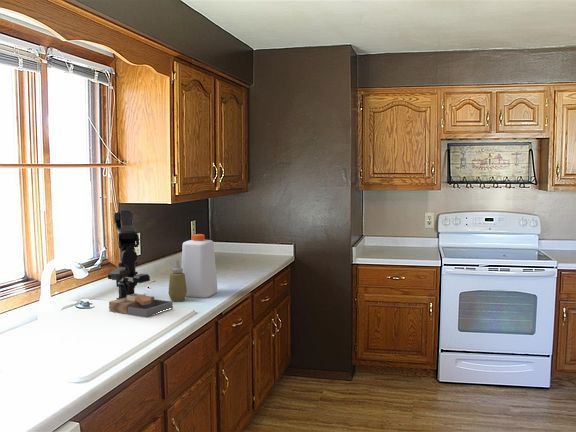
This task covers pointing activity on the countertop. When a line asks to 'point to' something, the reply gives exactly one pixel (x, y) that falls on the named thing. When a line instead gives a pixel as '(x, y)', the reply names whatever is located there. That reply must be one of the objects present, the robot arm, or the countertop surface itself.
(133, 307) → the charcoal bin
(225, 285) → the countertop surface
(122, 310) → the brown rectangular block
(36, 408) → the countertop surface
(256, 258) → the countertop surface
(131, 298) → the cream block
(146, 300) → the terracotta tile
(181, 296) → the squeeze bottle
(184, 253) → the plastic bottle
